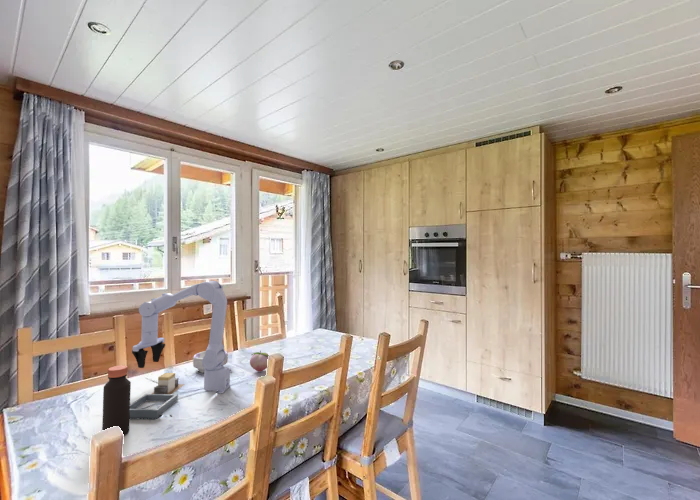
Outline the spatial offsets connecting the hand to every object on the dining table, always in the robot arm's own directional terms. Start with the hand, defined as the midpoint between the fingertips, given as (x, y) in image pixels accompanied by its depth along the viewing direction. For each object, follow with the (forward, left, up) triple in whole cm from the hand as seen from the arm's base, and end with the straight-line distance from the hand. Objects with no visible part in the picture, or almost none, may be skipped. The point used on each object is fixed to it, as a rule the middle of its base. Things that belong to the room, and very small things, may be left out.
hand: (148, 364), depth 135 cm
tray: (-12, +19, -10) cm, 24 cm away
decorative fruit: (-39, -22, -10) cm, 46 cm away
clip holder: (-9, +4, -10) cm, 14 cm away
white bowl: (-15, -23, -10) cm, 30 cm away
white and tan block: (-9, +4, -9) cm, 13 cm away
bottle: (-11, +35, -10) cm, 38 cm away
